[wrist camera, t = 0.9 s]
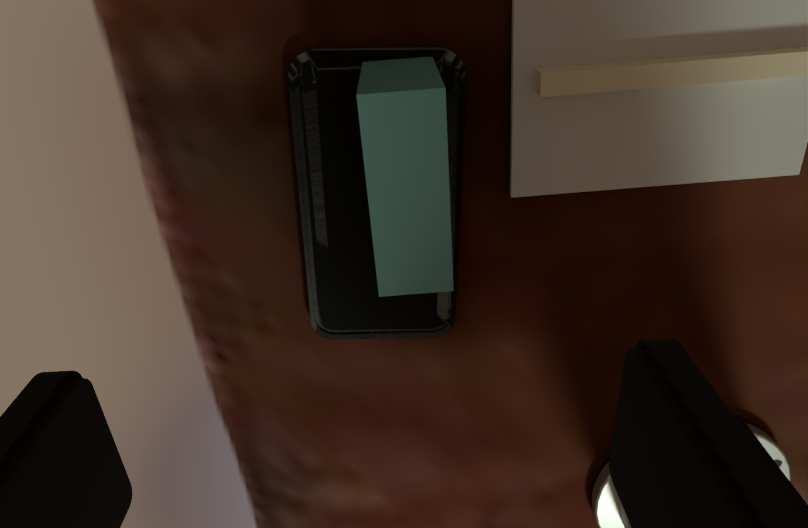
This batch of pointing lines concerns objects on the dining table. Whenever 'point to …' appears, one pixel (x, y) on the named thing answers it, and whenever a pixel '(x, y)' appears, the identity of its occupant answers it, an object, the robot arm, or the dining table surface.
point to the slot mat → (655, 92)
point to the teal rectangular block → (407, 174)
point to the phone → (360, 196)
